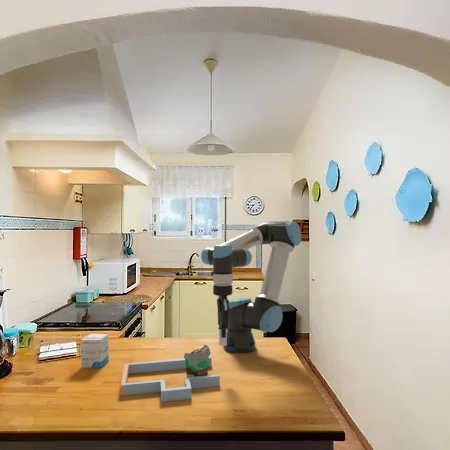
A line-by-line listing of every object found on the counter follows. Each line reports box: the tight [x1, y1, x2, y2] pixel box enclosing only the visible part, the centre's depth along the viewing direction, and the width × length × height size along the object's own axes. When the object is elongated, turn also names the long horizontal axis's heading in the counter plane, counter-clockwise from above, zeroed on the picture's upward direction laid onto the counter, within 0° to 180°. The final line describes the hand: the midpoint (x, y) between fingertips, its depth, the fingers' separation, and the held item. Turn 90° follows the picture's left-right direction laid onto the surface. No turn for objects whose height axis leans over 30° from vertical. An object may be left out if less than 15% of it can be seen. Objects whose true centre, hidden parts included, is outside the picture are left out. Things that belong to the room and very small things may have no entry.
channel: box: [120, 356, 221, 403], centre depth 133 cm, size 34×28×4 cm
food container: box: [183, 344, 211, 377], centre depth 139 cm, size 12×6×10 cm, turn 143°
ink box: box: [80, 333, 110, 369], centre depth 153 cm, size 9×8×12 cm
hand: (222, 345), depth 141 cm, fingers closed
